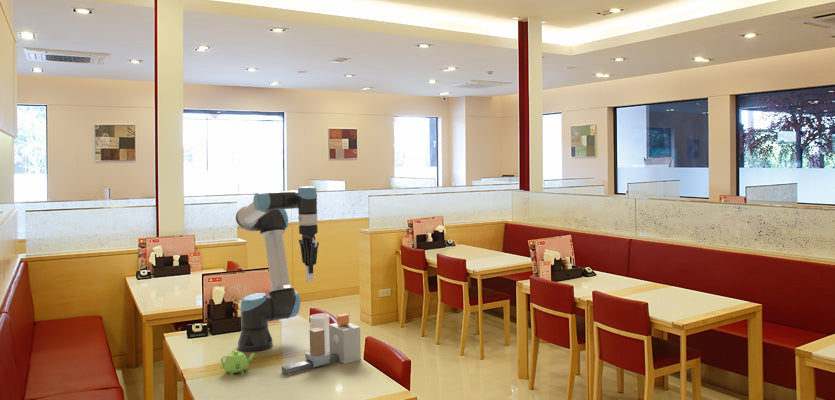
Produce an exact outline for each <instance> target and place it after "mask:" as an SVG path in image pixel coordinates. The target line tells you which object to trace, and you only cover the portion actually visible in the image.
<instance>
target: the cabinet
mask: <svg viewBox="0 0 835 400" xmlns="http://www.w3.org/2000/svg"><path fill="white" fill-rule="evenodd" d="M329 346H330V352H329V354H333V353H335V354H337V355H339V362H340V363H342V364H344V365H346V364H349V363H354V362H356V361H360V360H362V357H361V356H362V355H361V353H362V351H361V348H362V347H361V327H360V326H358V325H356V324H354V323H351V322H349V324H346V325H342V326H339V325H337V322H333V323H329Z"/></svg>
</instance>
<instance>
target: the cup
mask: <svg viewBox="0 0 835 400" xmlns="http://www.w3.org/2000/svg"><path fill="white" fill-rule="evenodd" d="M309 319H310V320H309V322H310V329H315V328H321V329H323V330H324V337H325V352H327V353H329V354H330V346H329V324H330V315H329V314H328V313H323V312H322V313H315V314H311V315H310V316H309ZM310 329H309V330H310Z"/></svg>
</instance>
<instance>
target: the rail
mask: <svg viewBox="0 0 835 400" xmlns="http://www.w3.org/2000/svg"><path fill="white" fill-rule="evenodd" d="M329 354H330V353H329ZM338 362H340V361H339V355H337V354H335V353H333V354H330V359H329V363H327V364H323V365H319V366H316V367H313V362H312V361H310V360H306V359H305V360H302V361H299V362H294V363H290V364H286V365H283V366H281V373H282V374H283V375H285V376H290V375H294V374H298V373H301V372H305V371H309V370H313V369H316V368H320V367H323V366H327V365H331V364H332V365H333V364H334V363H338Z"/></svg>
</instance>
